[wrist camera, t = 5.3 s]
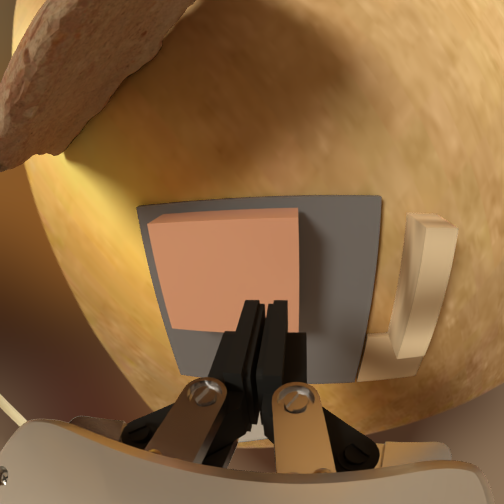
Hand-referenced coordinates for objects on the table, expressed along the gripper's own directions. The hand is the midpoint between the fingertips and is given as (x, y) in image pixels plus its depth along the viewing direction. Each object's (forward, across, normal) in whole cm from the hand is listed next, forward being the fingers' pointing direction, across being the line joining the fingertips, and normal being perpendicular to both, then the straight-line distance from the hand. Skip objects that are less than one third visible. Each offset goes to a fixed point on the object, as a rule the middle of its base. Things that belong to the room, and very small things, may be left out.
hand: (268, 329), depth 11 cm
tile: (+5, -1, 0) cm, 5 cm away
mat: (+7, +1, +3) cm, 8 cm away
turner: (+7, -9, +4) cm, 12 cm away
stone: (+7, +8, -14) cm, 18 cm away
